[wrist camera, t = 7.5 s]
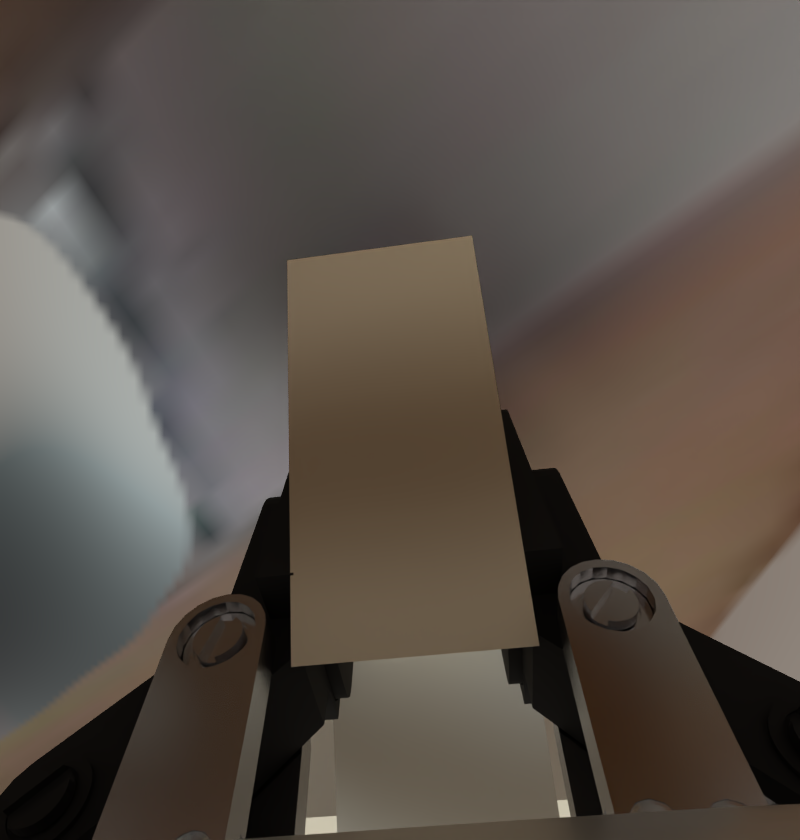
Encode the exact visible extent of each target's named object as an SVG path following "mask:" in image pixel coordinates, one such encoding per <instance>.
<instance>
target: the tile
mask: <svg viewBox="0 0 800 840" xmlns="http://www.w3.org/2000/svg"><path fill="white" fill-rule="evenodd" d="M544 722H545V728H546V734H547V741H548V747H549V753H550V759H551V766H552V772H553V778H554V784H555V791H556V797H557V803H558V809H559V816H560V818H561V817H571V816H570V811H569V806H568V801H567V795H566V790H565V785H564V780H563V775H562V770H561V765H560V760H559V755H558V750H557V744H556V739H555V734H554V725H553V723H552V722H551V721H550V720H548V719H547V718H545V717H544ZM310 739H311V759H310V772H309V785H308V799H307V812H306V825H305V835H307V834H322V833H337V815H336V786H335V757H334V728H333V720H325V722H324V725H323V726H322V727H321V728H320V729H319V730H318V731H317V732H316V733H315V734H314V735H313V736H312V737H311V738H310Z"/></svg>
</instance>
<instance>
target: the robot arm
mask: <svg viewBox="0 0 800 840" xmlns="http://www.w3.org/2000/svg"><path fill="white" fill-rule="evenodd" d="M501 415H502V421H503V427H504V433H505V439H506V445H507V451H508V458H509V464H510V470H511V476H512V482H513V488H514V494H515V500H516V506H517V512H518V518H519V524H520V530H521V537H522V543H523V549H524V555H525V561H526V567H527V573H528V579H529V585H530V591H531V597H532V603H533V609H534V615H535V622H536V628H537V634H538V640H539V646H533V647H521V648H509V649H501V652H502V657H503V662H504V667H505V672H506V677H507V681H508V684H520V687H521V692H522V696H523V701H524V704H532V708H533V709H534V710H536V711H537V712H539V713H540V714H541V715H543V716H544V717H545V718H547V719H548V720H550V721H551V722H552V723H553V725H554V734H555V739H556V744H557V750H558V755H559V760H560V765H561V770H562V775H563V780H564V785H565V790H566V795H567V801H568V806H569V811H570V816H571V817H561V818H545V819H529V820H514V821H499V822H484V823H469V824H454V825H439V826H425V827H410V828H395V829H380V830H366V831H351V832H337V833H322V834H307V835H305V825H306V812H307V799H308V785H309V772H310V759H311V739H310V738H311V737H312V736H313V735H314V734H315V733H316V732H317V731H318V730H319V729H320V728H321V727H322V726H323V725H324V722H325V720H334V719H338V717H339V707H340V698H349V697H350V694H351V687H352V675H353V662H344V663H332V664H320V665H309V666H297V667H291V603H290V576H291V575H293V573H290V498H289V473H288V476H287V479H286V482H285V485H284V489H283V492H282V495H281V497H273V498H268V499H267V500H266V501H265V503H264V505H263V507H262V510H261V513H260V516H259V519H258V521H257V524H256V527H255V530H254V532H253V535H252V538H251V541H250V544H249V546H248V549H247V552H246V555H245V558H244V560H243V563H242V566H241V569H240V571H239V574H238V577H237V580H236V583H235V585H234V588H233V591H232V594H228V595H224V596H220V597H216V598H213V599H211V600H208V601H206V602H204V603H202V604H200V605H198V606H197V607H196V608H194V609H193V610H192V611H190V612H189V613H188V614H186V615H185V616H184V617H183V618H182V620H181V621H180V622H179V623H178V624H177V625H176V626H175V628H174V629H173V631H172V633H171V635H170V637H169V638H168V640H167V643H166V646H165V648H164V651H163V654H162V656H161V659H160V662H159V664H158V667H157V669H156V672H155V675H153V676H152V677H151V678H149V679H148V680H147V681H145V682H144V683H142V684H141V685H140V686H138V687H137V688H136V689H134V690H133V691H131V692H130V693H129V694H127V695H126V696H125V697H123V698H122V699H120V700H119V701H118V702H116V703H115V704H114V705H112V706H111V707H110V708H108V709H107V710H105V711H104V712H103V713H101V714H100V715H99V716H97V717H96V718H94V719H93V720H92V721H90V722H89V723H88V724H86V725H85V726H83V727H82V728H81V729H79V730H78V731H77V732H75V733H74V734H72V735H71V736H70V737H68V738H67V739H66V740H64V741H63V742H61V743H60V744H59V745H57V746H56V747H55V748H53V749H52V750H51V751H49V752H48V753H46V754H45V755H44V756H42V757H41V758H40V759H38V760H37V761H35V762H34V763H33V764H31V765H30V766H29V767H28V768H27V769H26V770H25V771H23V772H22V773H21V774H20V775H19V776H18V777H16V778H15V779H14V780H13V781H12V782H11V784H10V785H9V786H8V787H7V788H6V789H5V791H4V792H3V793H2V794H1V795H0V840H800V682H799V681H797V680H795V679H793V678H791V677H789V676H787V675H785V674H783V673H781V672H779V671H777V670H775V669H773V668H771V667H769V666H767V665H765V664H763V663H761V662H759V661H757V660H755V659H752V658H750V657H748V656H747V655H745V654H742V653H741V652H738V651H736V650H734V649H732V648H730V647H728V646H726V645H724V644H722V643H720V642H718V641H716V640H714V639H712V638H710V637H708V636H706V635H704V634H702V633H700V632H698V631H696V630H694V629H692V628H690V627H688V626H686V625H684V624H682V623H680V622H678V620H677V618H676V616H675V614H674V612H673V610H672V608H671V606H670V604H669V602H668V600H667V598H666V596H665V594H664V593H663V591H662V590H661V588H660V587H659V586H658V584H657V583H656V582H655V581H654V580H653V579H651V578H650V577H649V576H648V575H647V574H645V573H644V572H642V571H640V570H638V569H636V568H634V567H632V566H630V565H628V564H624V563H621V562H617V561H613V560H601V559H600V556H599V554H598V552H597V550H596V548H595V546H594V544H593V542H592V540H591V538H590V536H589V534H588V532H587V529H586V527H585V525H584V523H583V521H582V519H581V517H580V515H579V513H578V511H577V509H576V507H575V504H574V502H573V500H572V498H571V496H570V494H569V492H568V490H567V488H566V486H565V484H564V482H563V479H562V477H561V475H560V473H559V472H558V470H557V469H555V468H549V469H539V470H531V467H530V465H529V462H528V460H527V457H526V455H525V452H524V450H523V447H522V445H521V443H520V440H519V438H518V435H517V433H516V430H515V428H514V425H513V423H512V420H511V418H510V415H509V413H508V411H507V410H501Z"/></svg>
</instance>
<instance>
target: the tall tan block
mask: <svg viewBox="0 0 800 840" xmlns="http://www.w3.org/2000/svg"><path fill="white" fill-rule="evenodd" d="M287 289H288V394H289V498H290V573H293V575H291V576H290V603H291V667H297V666H309V665H320V664H332V663H344V662H353V675H352V687H351V694H350V697H349V698H340V707H339V717H338V719H334V720H333V728H334V757H335V786H336V815H337V832H351V831H366V830H380V829H395V828H410V827H425V826H439V825H454V824H469V823H484V822H499V821H514V820H529V819H545V818H560V816H559V809H558V803H557V797H556V791H555V784H554V778H553V772H552V766H551V759H550V753H549V747H548V741H547V734H546V728H545V722H544V716H543V715H541V714H540V713H539V712H537V711H536V710H534V709H533V708H532V704H524V701H523V696H522V692H521V687H520V684H508V681H507V677H506V672H505V667H504V662H503V657H502V652H501V649H509V648H521V647H533V646H539V640H538V634H537V628H536V622H535V615H534V609H533V603H532V597H531V591H530V585H529V579H528V573H527V567H526V561H525V555H524V549H523V543H522V537H521V530H520V524H519V518H518V512H517V506H516V500H515V494H514V488H513V482H512V476H511V470H510V464H509V458H508V451H507V445H506V439H505V433H504V427H503V421H502V415H501V409H500V403H499V397H498V391H497V385H496V379H495V372H494V366H493V360H492V354H491V348H490V342H489V336H488V330H487V324H486V318H485V312H484V306H483V300H482V294H481V287H480V281H479V275H478V269H477V263H476V257H475V251H474V245H473V239H472V236H465V237H458V238H450V239H443V240H435V241H428V242H420V243H413V244H405V245H398V246H390V247H383V248H375V249H368V250H360V251H353V252H345V253H338V254H330V255H323V256H315V257H308V258H300V259H293V260H287Z"/></svg>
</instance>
